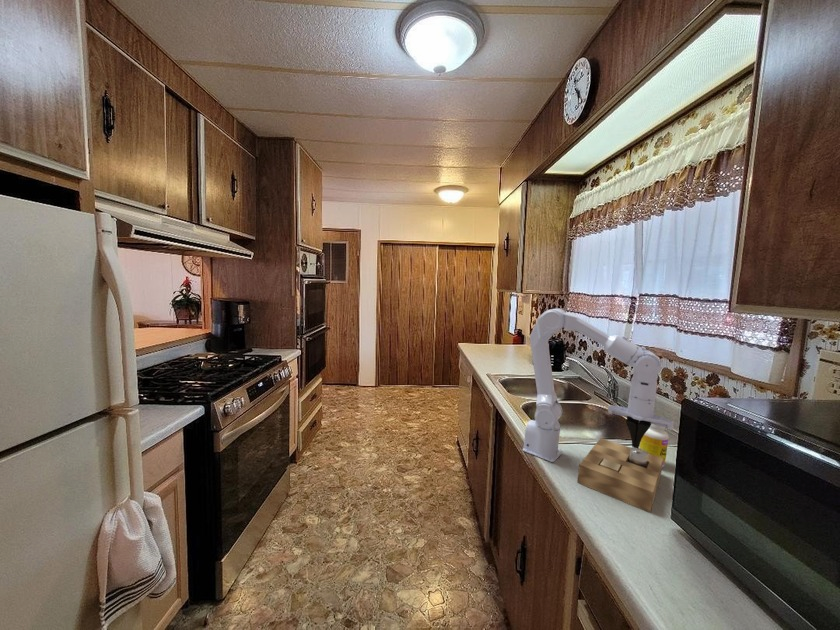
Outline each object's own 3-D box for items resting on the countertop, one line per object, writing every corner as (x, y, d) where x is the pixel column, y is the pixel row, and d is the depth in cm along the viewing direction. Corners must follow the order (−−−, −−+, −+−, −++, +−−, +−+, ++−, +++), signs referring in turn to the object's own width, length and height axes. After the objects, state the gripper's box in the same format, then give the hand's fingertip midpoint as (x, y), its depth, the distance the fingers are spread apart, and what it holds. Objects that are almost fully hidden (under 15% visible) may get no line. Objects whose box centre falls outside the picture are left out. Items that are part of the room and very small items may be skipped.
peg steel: (626, 467, 92) (629, 450, 91) (629, 462, 95) (631, 445, 94) (644, 473, 89) (646, 456, 89) (646, 468, 92) (648, 451, 92)
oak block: (577, 482, 89) (579, 464, 88) (598, 453, 106) (600, 438, 105) (650, 512, 79) (653, 492, 78) (660, 474, 95) (663, 458, 95)
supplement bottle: (660, 471, 97) (667, 428, 96) (634, 461, 102) (640, 420, 101) (667, 464, 102) (673, 423, 100) (641, 454, 106) (647, 415, 105)
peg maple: (597, 481, 89) (600, 464, 89) (601, 475, 92) (603, 458, 92) (615, 488, 87) (617, 470, 86) (618, 481, 90) (620, 464, 89)
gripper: (607, 393, 91) (602, 441, 93) (674, 408, 82) (667, 462, 83) (613, 387, 96) (608, 433, 98) (677, 402, 87) (670, 452, 88)
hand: (635, 446), depth 91 cm, fingers closed
